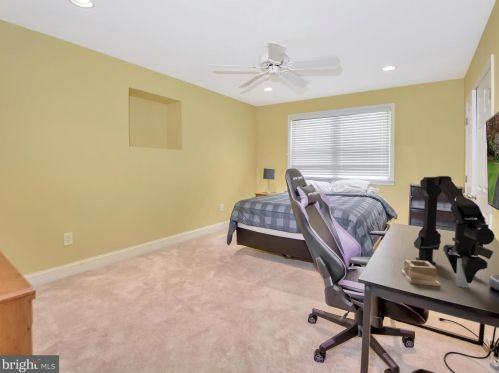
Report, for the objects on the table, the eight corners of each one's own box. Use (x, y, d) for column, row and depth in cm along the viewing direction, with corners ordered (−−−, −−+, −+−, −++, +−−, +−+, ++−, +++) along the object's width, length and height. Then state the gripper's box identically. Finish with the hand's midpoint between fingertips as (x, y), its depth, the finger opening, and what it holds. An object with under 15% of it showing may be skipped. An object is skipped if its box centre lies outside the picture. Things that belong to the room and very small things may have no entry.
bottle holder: (400, 271, 117) (401, 257, 116) (427, 273, 114) (427, 259, 114) (410, 283, 105) (411, 268, 105) (440, 286, 103) (440, 270, 102)
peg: (454, 283, 105) (455, 257, 104) (464, 284, 104) (466, 258, 103) (458, 287, 102) (460, 261, 101) (469, 288, 101) (471, 261, 100)
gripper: (507, 245, 90) (504, 291, 92) (475, 232, 109) (473, 270, 110) (468, 243, 93) (466, 288, 94) (443, 230, 111) (441, 268, 112)
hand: (462, 277), depth 103 cm, fingers open, 9 cm apart
